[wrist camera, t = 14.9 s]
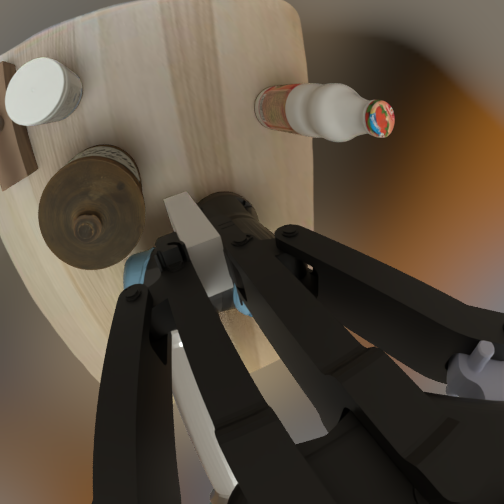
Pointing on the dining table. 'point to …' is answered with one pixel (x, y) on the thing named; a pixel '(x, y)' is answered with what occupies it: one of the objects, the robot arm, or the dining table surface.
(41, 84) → the supplement tub
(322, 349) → the robot arm
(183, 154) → the dining table surface
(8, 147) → the bench stop
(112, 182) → the wooden container
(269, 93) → the fruit juice
